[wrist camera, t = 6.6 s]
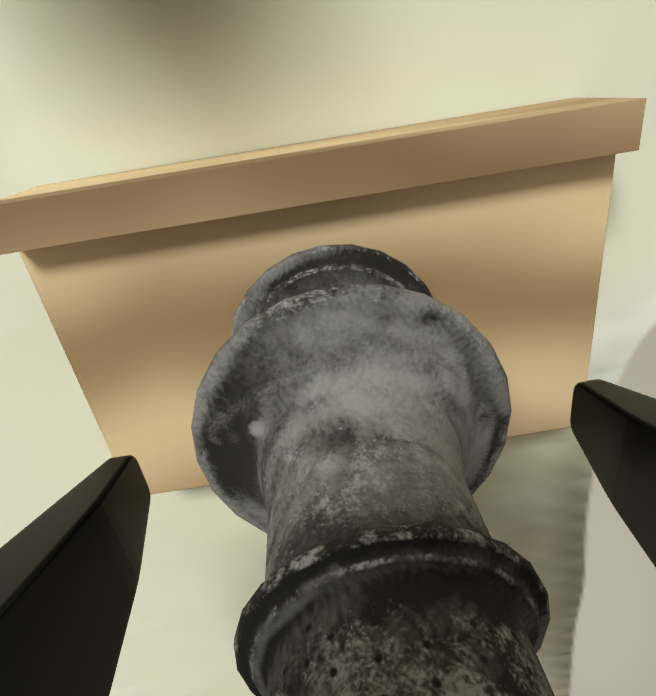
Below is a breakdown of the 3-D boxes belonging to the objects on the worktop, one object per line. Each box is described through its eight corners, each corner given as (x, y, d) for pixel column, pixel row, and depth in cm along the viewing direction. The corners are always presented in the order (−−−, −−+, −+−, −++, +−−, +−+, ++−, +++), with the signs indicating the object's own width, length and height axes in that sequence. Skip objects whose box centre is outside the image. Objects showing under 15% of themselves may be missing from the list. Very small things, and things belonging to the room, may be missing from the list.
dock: (550, 389, 17) (596, 441, 14) (148, 454, 17) (123, 517, 14) (574, 97, 12) (646, 98, 10) (37, 186, 12) (-25, 208, 10)
